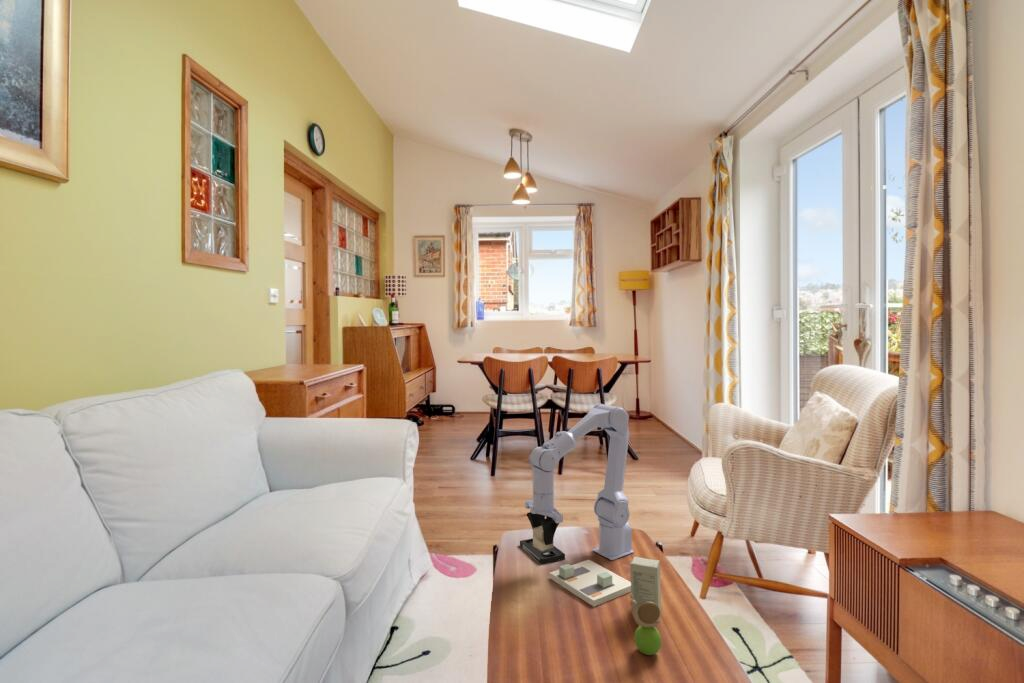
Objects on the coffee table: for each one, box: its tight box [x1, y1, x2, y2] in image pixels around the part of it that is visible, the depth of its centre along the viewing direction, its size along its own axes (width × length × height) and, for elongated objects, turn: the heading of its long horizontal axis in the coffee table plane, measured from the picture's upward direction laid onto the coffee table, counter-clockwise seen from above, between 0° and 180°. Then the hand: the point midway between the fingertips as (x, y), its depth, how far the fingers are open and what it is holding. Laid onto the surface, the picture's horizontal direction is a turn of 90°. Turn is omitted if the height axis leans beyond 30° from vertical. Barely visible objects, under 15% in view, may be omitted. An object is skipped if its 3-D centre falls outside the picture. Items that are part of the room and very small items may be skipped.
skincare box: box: [629, 556, 662, 620], centre depth 116 cm, size 6×4×12 cm
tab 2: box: [597, 572, 612, 588], centre depth 126 cm, size 3×2×2 cm
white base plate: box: [549, 559, 631, 608], centre depth 130 cm, size 14×17×2 cm
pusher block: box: [532, 526, 554, 551], centre depth 137 cm, size 4×4×5 cm
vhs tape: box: [519, 537, 566, 565], centre depth 149 cm, size 14×8×2 cm, turn 24°
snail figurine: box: [629, 593, 663, 656], centre depth 102 cm, size 5×6×12 cm
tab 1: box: [558, 563, 574, 579], centre depth 131 cm, size 3×2×2 cm
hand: (543, 541), depth 137 cm, fingers closed on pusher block, 4 cm apart
